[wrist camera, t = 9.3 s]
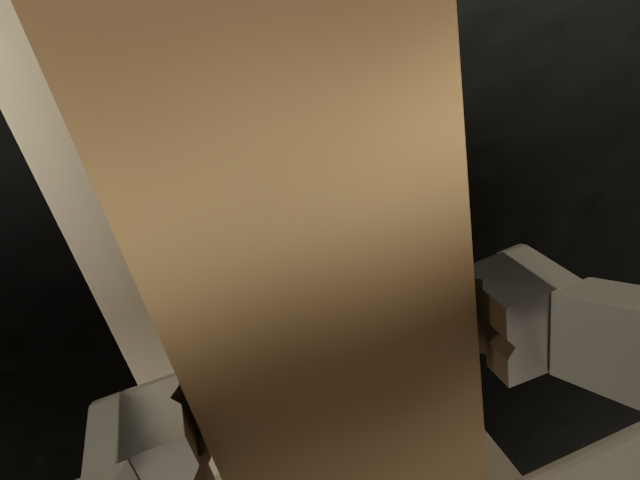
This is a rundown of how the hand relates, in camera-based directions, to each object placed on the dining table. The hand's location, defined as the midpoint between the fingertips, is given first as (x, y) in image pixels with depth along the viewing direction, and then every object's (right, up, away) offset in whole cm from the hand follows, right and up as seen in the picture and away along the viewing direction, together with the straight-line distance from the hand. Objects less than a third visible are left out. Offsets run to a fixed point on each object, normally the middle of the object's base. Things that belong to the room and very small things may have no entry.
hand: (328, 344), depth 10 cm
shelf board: (-1, +1, +2) cm, 3 cm away
